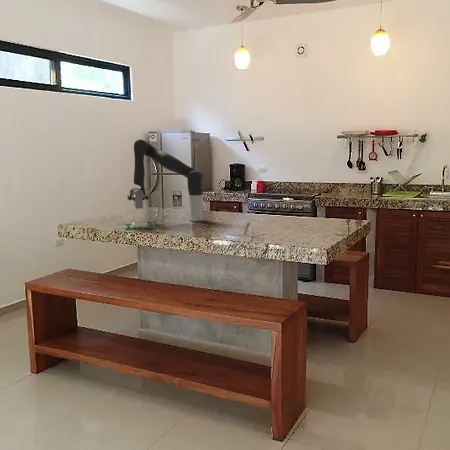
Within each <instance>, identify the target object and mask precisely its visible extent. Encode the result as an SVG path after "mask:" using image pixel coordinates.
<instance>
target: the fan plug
mask: <svg viewBox="0 0 450 450" xmlns="http://www.w3.org/2000/svg"><path fill="white" fill-rule="evenodd" d="M134 199H135V201H134V207H135V209H139V210H140V209H144V200H143V192H142V191H141V190H136V192H135V193H134Z"/></svg>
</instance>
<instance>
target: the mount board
mask: <svg viewBox="0 0 450 450" xmlns="http://www.w3.org/2000/svg"><path fill="white" fill-rule="evenodd" d="M134 228H153V229H156V225H155V223H154V222H149V223H148V222H147V221H137V222H136V221H134V222H129V223H127V222H126V223H124V230H125V229H131V230H135V229H134Z"/></svg>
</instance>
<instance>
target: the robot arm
mask: <svg viewBox="0 0 450 450" xmlns="http://www.w3.org/2000/svg"><path fill="white" fill-rule="evenodd" d="M133 154H134V170H133V171H134V172H133V184H134V185H136V186H139V187H140V188H139V187H138V188H137V187H136V188H135V187H132V188H131V189H130V191H129V194H127V196H126V197H127V201H135V199H134V193H135V192H136V190H141V191H142V192H143V201H145V200H147V201H148V200H149V199H150V194H147V193H146V188H145V176H146V174H145V171H146V170H145V164H144V163H145V157H148V158H151V160H153V161H155V163H157V164H159V165H160V166H161V167H163V169H164V168H165V169H166V170H167V171H170V172H172V173H176V174H178V175H181V176H183V177H184V178H186V179H187V191H188V208H189V210H188V212H189V216H188V217H189V221H190V222H203V221H205V216H204V215H205V210H204V209H205V208H204V196H203V195H204V191H203V188H202V187H203V186H202V183H203V181H204V179H205V178H204V174H203V173H202V172H201V170H197V169H195V168H194V167H191V166H189V165H187V164H186V163H184V162H182V161H181V160H180V159H178V158H176V157H175V156H173V155H171V154H169V153H167V152H165V151H163V150H160V149H158V148H156V147H155V146H153V145H152V144H151V143H149V142H148V141H146V140H144V139H142V138H141V139H140V138H139V139H137V140H135V142H134V143H133Z"/></svg>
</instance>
